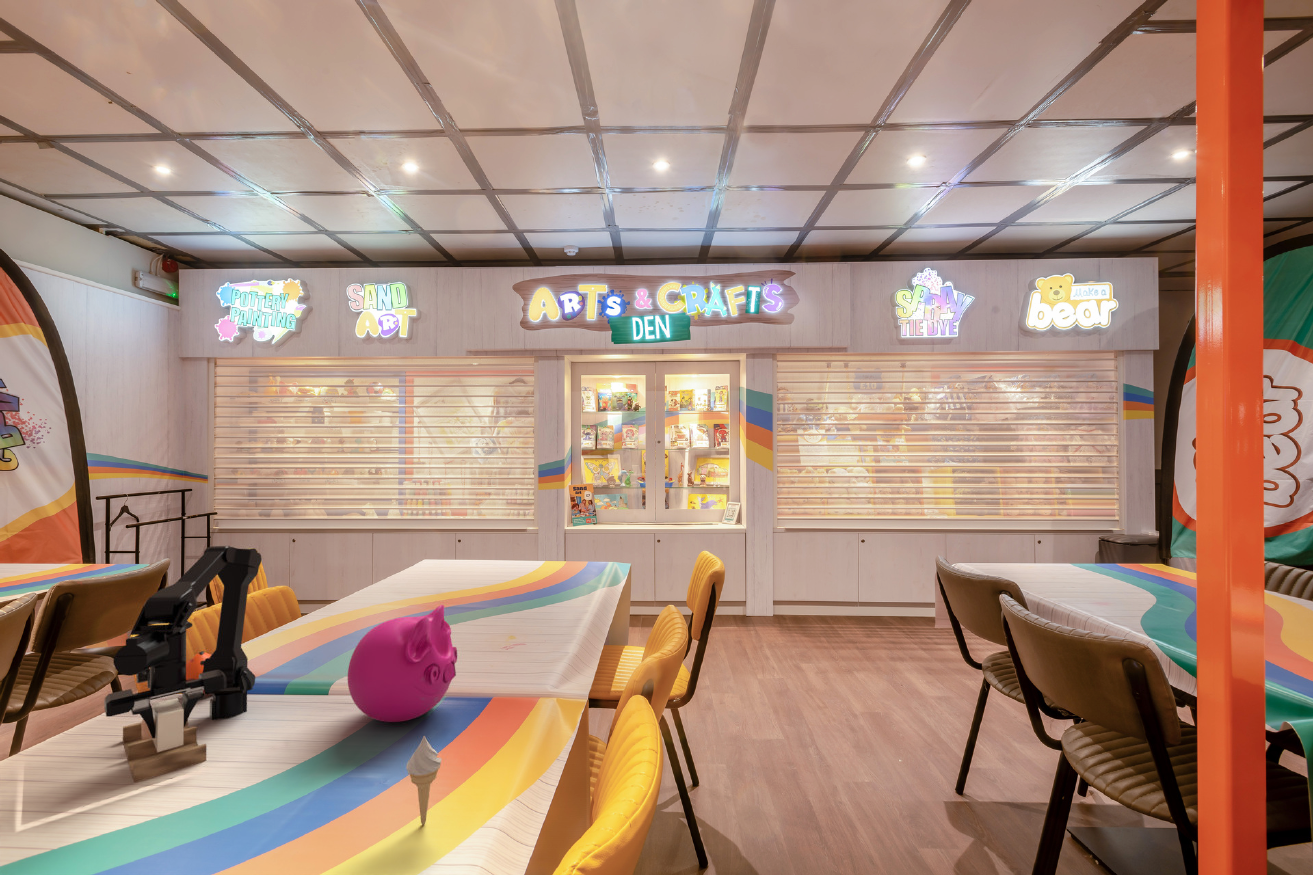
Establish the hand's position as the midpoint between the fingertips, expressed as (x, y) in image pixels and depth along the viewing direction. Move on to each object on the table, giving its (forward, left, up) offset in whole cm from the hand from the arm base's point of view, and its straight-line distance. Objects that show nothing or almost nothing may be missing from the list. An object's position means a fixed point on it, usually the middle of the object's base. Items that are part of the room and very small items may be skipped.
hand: (167, 733), depth 121 cm
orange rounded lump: (-11, -35, -6) cm, 38 cm away
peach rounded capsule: (0, -11, -5) cm, 12 cm away
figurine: (-42, +14, -6) cm, 45 cm away
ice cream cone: (-27, +57, -6) cm, 63 cm away
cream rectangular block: (0, 0, -2) cm, 2 cm away
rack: (0, -5, -6) cm, 8 cm away
